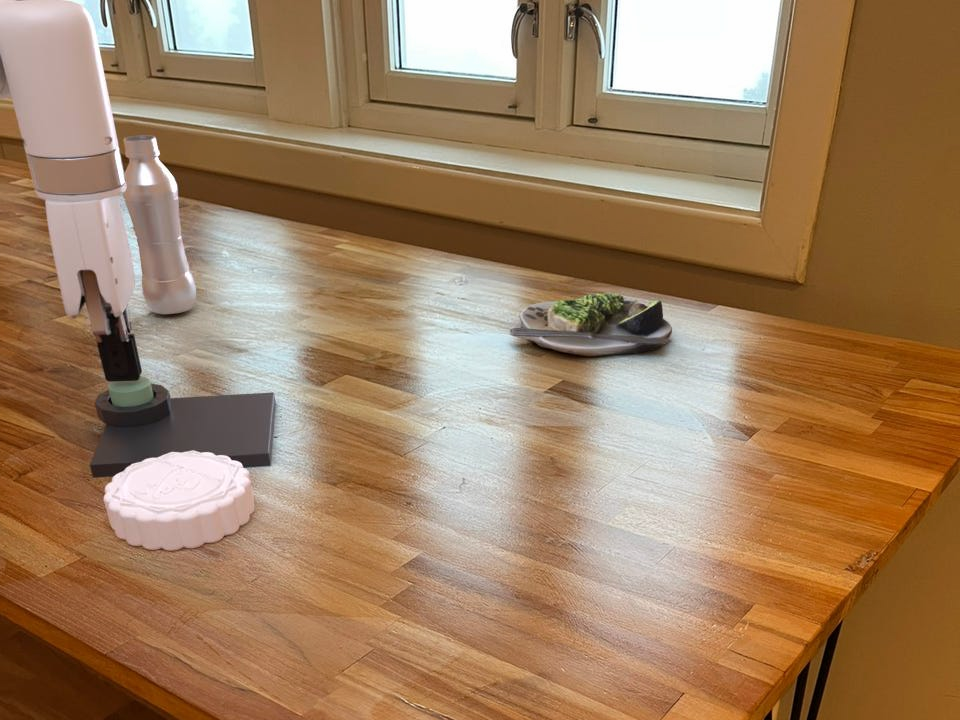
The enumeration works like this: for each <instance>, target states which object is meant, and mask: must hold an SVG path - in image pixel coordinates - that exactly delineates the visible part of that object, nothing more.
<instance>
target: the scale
mask: <svg viewBox="0 0 960 720" xmlns="http://www.w3.org/2000/svg"><path fill="white" fill-rule="evenodd" d="M151 387H152V391H153V396H154V399H153V400H151V401H150V402H148V403H145V404H141V405H138V406H130V407H120V406H115V405H113V404H112V401H111V397H110V393H109V390H108V389H106V390H105V391H103V392H101V393H99V394H98V395H97V396H96V399H95V401H94V405H95V409H96V413H97V417H98V419H99V420H100V421H102V422H103V424H105V427H104V428H103V431H102V433H101V436H100V438H99V441H98V443H97V446H96V448H95V451H94V453H93V455H92V458H91V460H90V463H89V468H90V471H91V474H92V478H93V479H95V478H111V477H112V478H113V477H114V476H115V475H116V474H118V473H120V472H123V471H124V470H125V469H126V468H127V467H128V466H131V464H134V463H138V462H142V461H143V460H145V459H148V458H158V457H160V456H162V455H165V454H168V453H170V452H179V453H183V452H188V451H193V450H194V451H197V452H200V453H203V452H210V453H213V454H215V455H216V456H217V455H225V456H228V457H229V458H230V459H231V460H234V461H238V462H240V463H241V464H242V465H243V468H244V469H247V468H262V467H271V465H272V457H273V456H272V454H273V445H274V444H273V443H274V431H275V420H276V408H277V402H276V396H275V395H276V394H275V392H273V391H272V392H271V391H270V392H258V393H257V392H255V393H254V392H253V393H238V394H220V395H219V394H218V395H205V396H204V395H203V396H186V397H171V394H170V391H169V389H167V388H166V387H164V386H163V385H161V384H158V383H157V384H156V383H151Z"/></svg>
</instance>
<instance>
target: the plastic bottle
mask: <svg viewBox="0 0 960 720" xmlns="http://www.w3.org/2000/svg"><path fill="white" fill-rule="evenodd" d="M123 145H124V150H125V151H124V154H125V157H126V158H128V161H129V162H128V164H127V166H126V169H125V171H124V175H125V180H126V185H127V190H126V191H125V192H124V193H122V197H123V199H124V203H125V206H126V208H127V211H128V214H129V218H130V220H131V223H132V227H133V230H134V231H133V232H134V234H135V237H136V242H137V247H138V253H139V260H140V261H139V262H140V269H141V288H142V289H141V291H142V296H143V298H144V301H145V304H146V307H148V308H149V309H150V311H151V312H153V313H155V314H159V315H175V314H180V313H184V312H187V311H189V310H191V309H193V308H194V306H195V304H196V301H197V287H196V283H195V280H194V276H193V274H192V271H191V270H190V266H189V263H188V259H187V255H186V251H185V247H184V244H183V243H184V242H183V236H182V227H181V220H180V200H179V188H178V182H177V181H176V178H175V176H173V174H172V173H171V172H170V170H169V169H168V168H167V167H166V166H165V165H164V163H162V161H161V160H160V159H159V156H160V155H161V153H160V149H159V147H158V142H157V138H156V136H155V135H149V134H139V135H132V136H127V137H124V138H123Z"/></svg>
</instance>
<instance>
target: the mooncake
mask: <svg viewBox="0 0 960 720" xmlns="http://www.w3.org/2000/svg"><path fill="white" fill-rule="evenodd" d="M254 500H255V499H254V492H253V487H252V481H251V475H250V472H249V470H248V469H247V468H243V465H242V464H241V463H240V462H238V461H234V460H231V459H230V458H229V457H228V456H225V455H217V456H216V455H215V454H213V453H210V452H203V453H200V452H197V451H194V450H193V451H188V452H183V453H179V452H170V453H168V454H165V455H162V456H160V457H158V458H148V459H145V460H143V461H142V462H138V463H134V464H131V466H128V467H127V468H126V469H125V470H124V471H123V472H120V473H118V474H116V475H115V476H112V478H111V481H110V482H109V483H107V484H106V485H105V487H104V495H103V504H104V507H105V510H106V514H107V518H108V522H109V525H110V527H111V529H112V530H114V533H115V536H116V537H117V538H118V539H120V540H122V541H123V540H124V541H125V542H127V544H128V545H129V546H132V547H142V548H144V549H145V550H148V551H157V550H158V551H159V550H160V549H162V550H165V551H166V552H167V551H168V552H175V551H178V550H181V549H183V548H185V549H197V548H200V547H202V546H203V545H205V544H215V543H218V542H221V541H222V539H224V536H225V537H226V536H231V535H234V534H236V533H237V532H238V531H239V529H240V527H242V526H244V525H247V523H248V522H249V521H250V519H251V518H250V516H251V515H252V514H254V512H255V504H254V503H255V502H254Z"/></svg>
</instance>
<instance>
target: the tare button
mask: <svg viewBox="0 0 960 720" xmlns="http://www.w3.org/2000/svg"><path fill="white" fill-rule="evenodd" d="M151 384H152V382H151V380H150V379H149V378H148V377H146V376H141V375H140V378H139V380H137V381H115V382H109V383H108V385H107V390H109V393H110V397H111V401H112V404H113V405H115V406H120V407H130V406H138V405H141V404H145V403H148V402H150V401H151V400H153V399H154V396H153V391H152V387H151Z"/></svg>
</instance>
